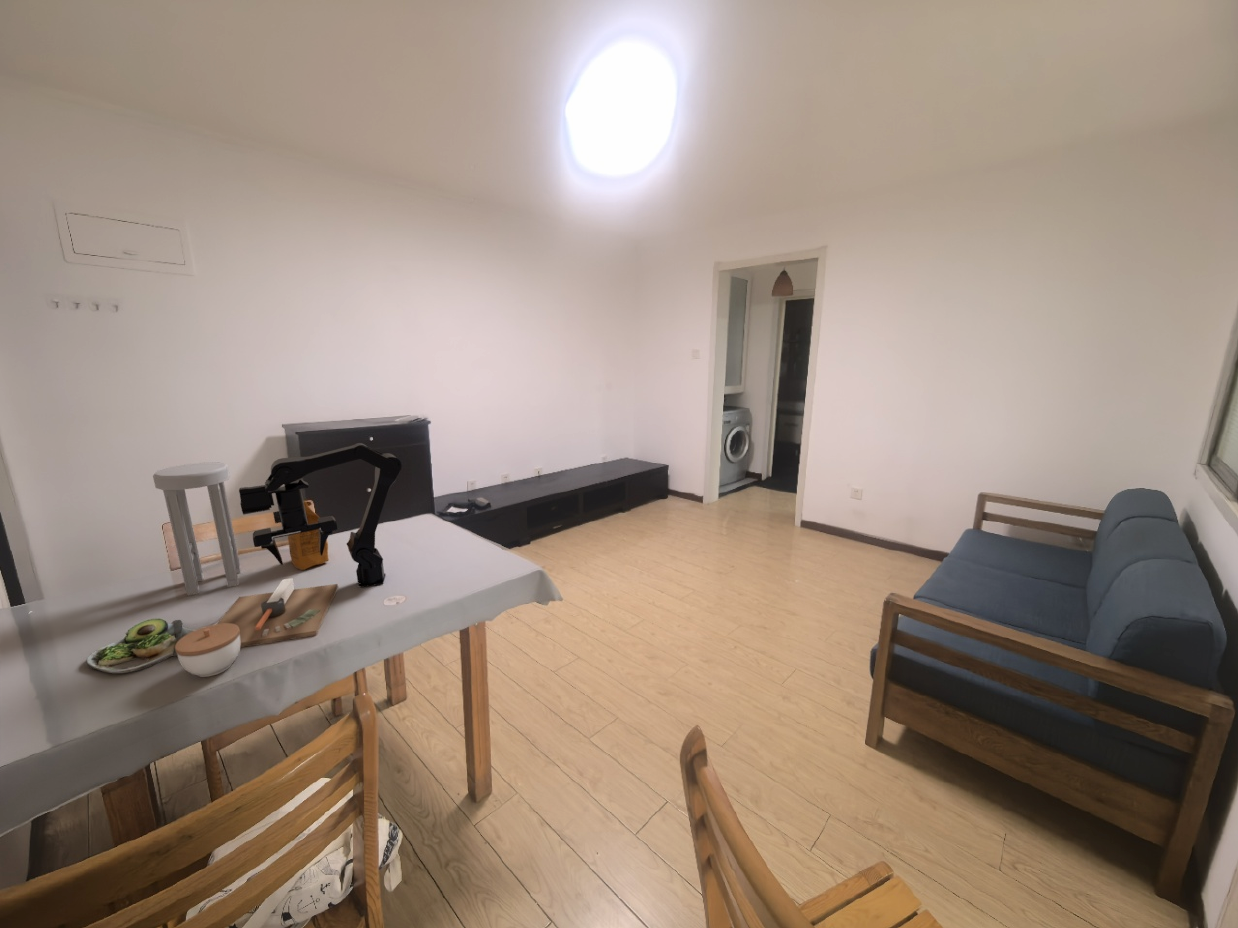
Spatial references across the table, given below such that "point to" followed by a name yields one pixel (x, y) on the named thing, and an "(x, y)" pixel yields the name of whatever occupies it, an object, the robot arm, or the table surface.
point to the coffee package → (307, 544)
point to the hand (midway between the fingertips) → (302, 559)
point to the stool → (176, 501)
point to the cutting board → (295, 622)
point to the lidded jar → (209, 649)
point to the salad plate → (140, 646)
